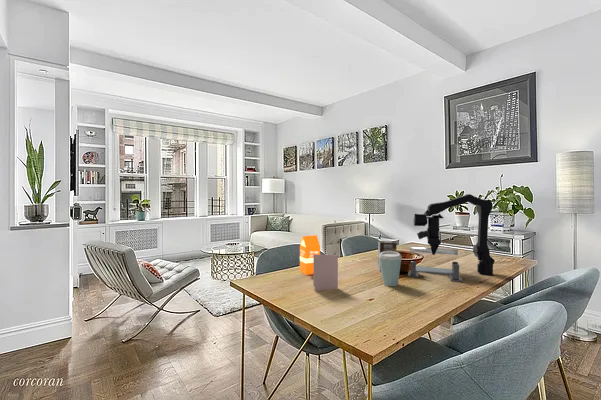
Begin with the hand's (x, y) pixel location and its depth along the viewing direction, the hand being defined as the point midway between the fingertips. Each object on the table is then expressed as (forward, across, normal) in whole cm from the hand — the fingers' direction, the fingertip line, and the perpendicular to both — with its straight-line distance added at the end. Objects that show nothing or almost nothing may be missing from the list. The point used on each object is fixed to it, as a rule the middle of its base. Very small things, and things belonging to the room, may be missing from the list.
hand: (433, 254), depth 169 cm
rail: (-2, 0, 0) cm, 2 cm away
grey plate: (+9, 0, 0) cm, 9 cm away
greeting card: (+9, +52, -47) cm, 71 cm away
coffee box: (+9, +8, -24) cm, 27 cm away
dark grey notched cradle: (+9, +13, 0) cm, 16 cm away
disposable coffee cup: (+9, +34, -20) cm, 41 cm away
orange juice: (+9, +27, -63) cm, 69 cm away
